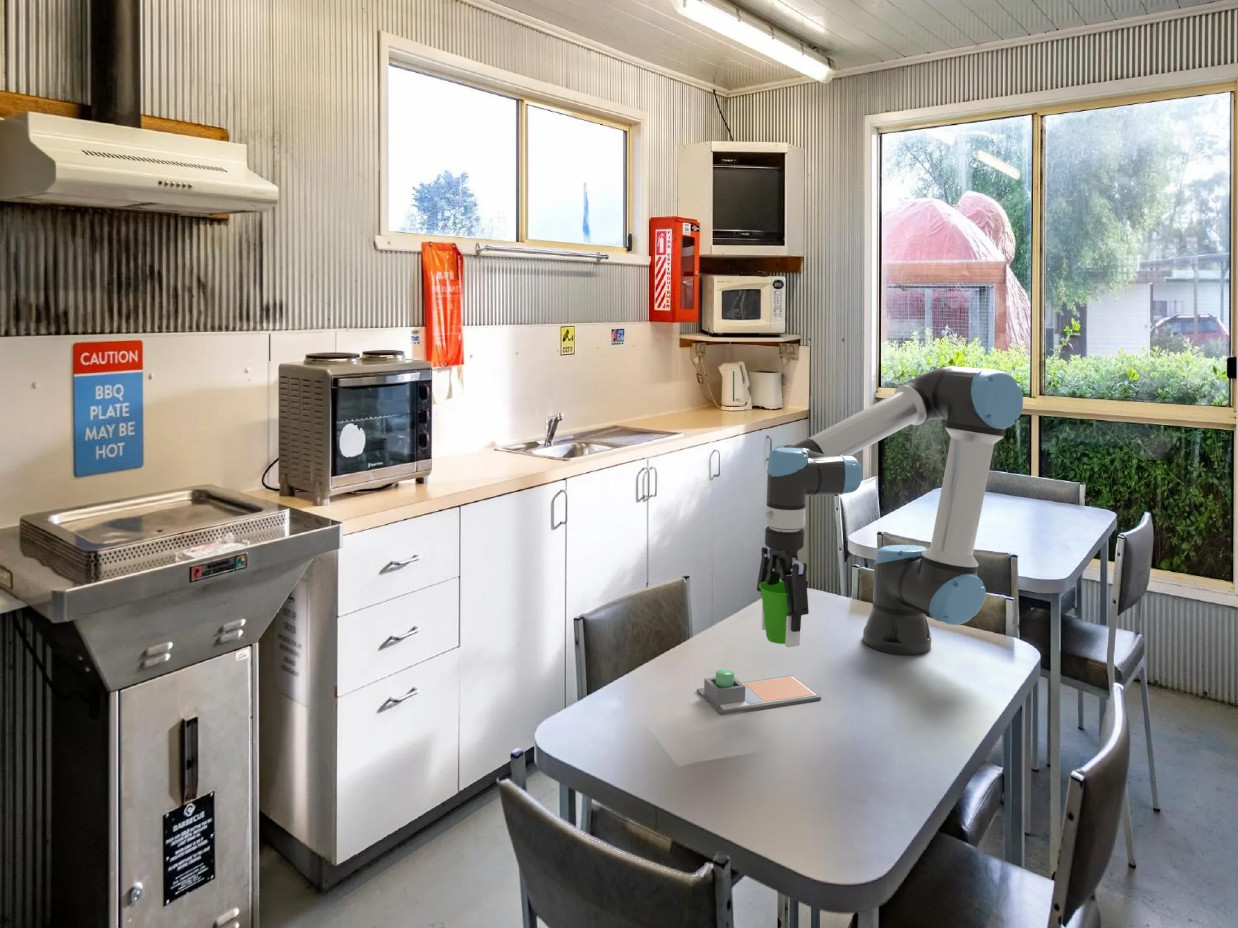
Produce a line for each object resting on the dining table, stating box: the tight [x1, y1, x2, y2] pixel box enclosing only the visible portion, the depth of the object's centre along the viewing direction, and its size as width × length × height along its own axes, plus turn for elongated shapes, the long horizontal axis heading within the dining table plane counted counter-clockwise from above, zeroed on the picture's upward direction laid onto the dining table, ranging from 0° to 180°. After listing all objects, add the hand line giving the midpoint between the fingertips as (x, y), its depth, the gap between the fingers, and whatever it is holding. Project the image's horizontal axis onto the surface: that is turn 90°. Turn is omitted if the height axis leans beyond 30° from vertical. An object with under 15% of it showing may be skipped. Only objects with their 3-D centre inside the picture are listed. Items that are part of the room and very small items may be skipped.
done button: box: [715, 668, 735, 689], centre depth 175 cm, size 4×4×3 cm
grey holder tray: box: [696, 674, 822, 716], centre depth 177 cm, size 22×11×4 cm, turn 109°
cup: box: [759, 579, 789, 645], centre depth 176 cm, size 9×9×11 cm
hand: (779, 636), depth 177 cm, fingers closed on cup, 9 cm apart
